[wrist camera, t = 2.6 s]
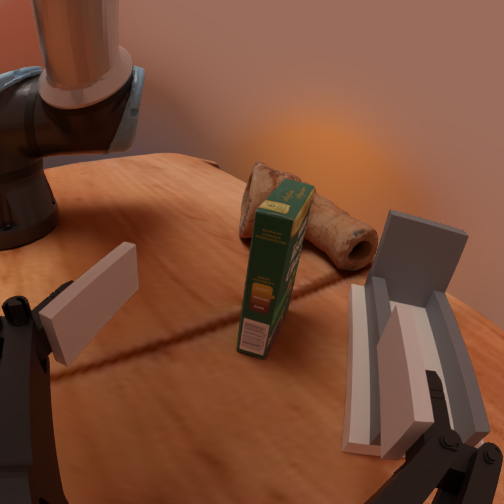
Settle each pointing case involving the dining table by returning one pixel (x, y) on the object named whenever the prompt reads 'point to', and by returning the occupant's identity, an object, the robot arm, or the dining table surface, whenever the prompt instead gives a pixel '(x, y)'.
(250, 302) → the coffee box
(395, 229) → the rack
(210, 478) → the dining table surface
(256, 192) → the clay pipe
